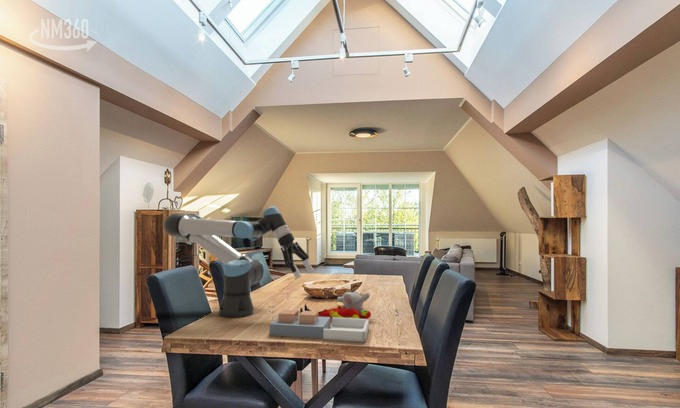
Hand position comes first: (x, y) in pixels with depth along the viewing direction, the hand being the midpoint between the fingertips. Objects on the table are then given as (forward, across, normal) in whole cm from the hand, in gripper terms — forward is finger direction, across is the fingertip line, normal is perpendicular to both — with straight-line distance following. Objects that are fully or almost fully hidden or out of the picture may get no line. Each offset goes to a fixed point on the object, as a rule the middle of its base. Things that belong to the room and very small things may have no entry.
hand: (305, 274), depth 171 cm
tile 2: (+17, -32, -9) cm, 37 cm away
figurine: (+24, -11, -8) cm, 28 cm away
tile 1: (+12, -33, -2) cm, 36 cm away
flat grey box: (+18, -33, -4) cm, 38 cm away
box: (+28, -30, -19) cm, 45 cm away
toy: (+26, +4, -10) cm, 28 cm away
